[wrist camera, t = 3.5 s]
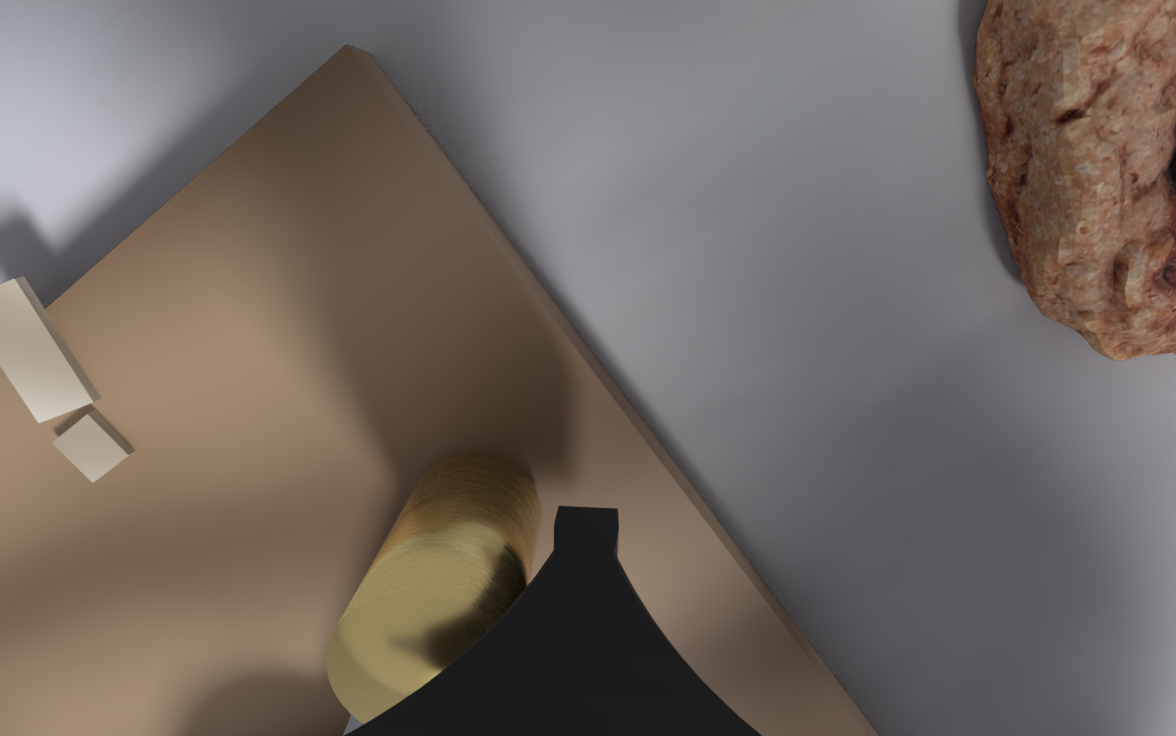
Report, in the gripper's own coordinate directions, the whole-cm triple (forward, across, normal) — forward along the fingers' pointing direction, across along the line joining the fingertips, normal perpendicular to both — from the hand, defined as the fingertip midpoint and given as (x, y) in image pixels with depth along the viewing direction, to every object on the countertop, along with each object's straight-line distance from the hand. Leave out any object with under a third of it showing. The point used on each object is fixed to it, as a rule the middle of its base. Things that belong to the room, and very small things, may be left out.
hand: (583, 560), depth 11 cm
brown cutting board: (+3, +5, +8) cm, 10 cm away
